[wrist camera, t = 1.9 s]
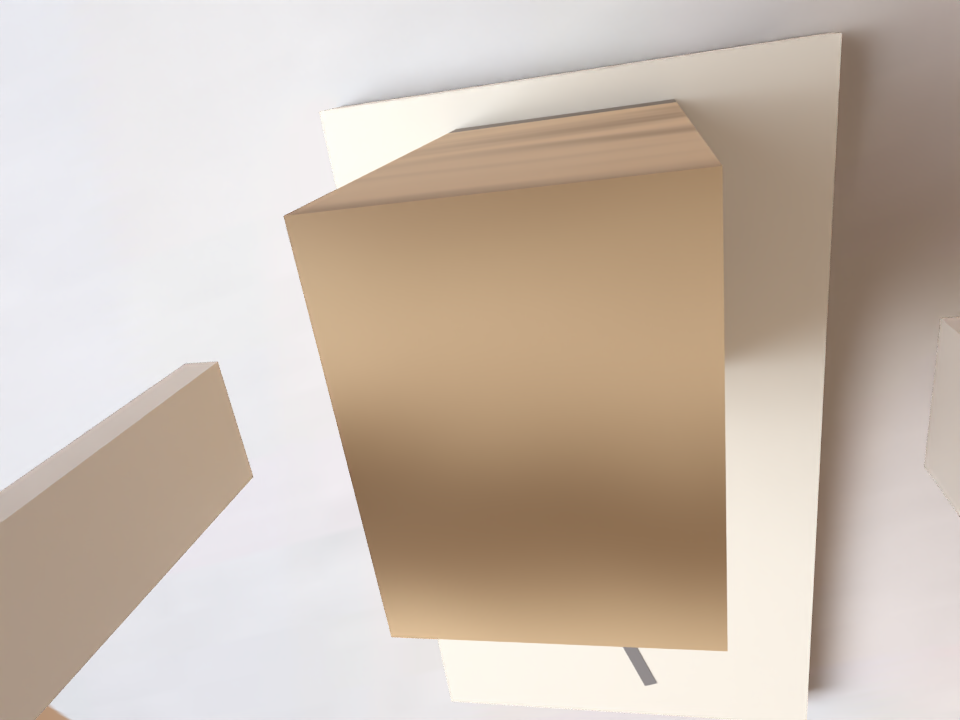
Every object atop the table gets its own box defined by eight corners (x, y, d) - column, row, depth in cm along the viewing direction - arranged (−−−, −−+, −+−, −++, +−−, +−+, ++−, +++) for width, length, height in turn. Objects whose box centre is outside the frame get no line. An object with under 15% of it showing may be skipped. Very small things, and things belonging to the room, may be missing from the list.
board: (338, 107, 22) (318, 112, 20) (826, 33, 18) (842, 32, 17) (459, 672, 31) (451, 701, 30) (797, 691, 28) (806, 724, 26)
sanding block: (456, 128, 20) (283, 216, 10) (674, 98, 18) (722, 165, 9) (494, 381, 23) (391, 637, 13) (684, 372, 21) (727, 651, 12)
